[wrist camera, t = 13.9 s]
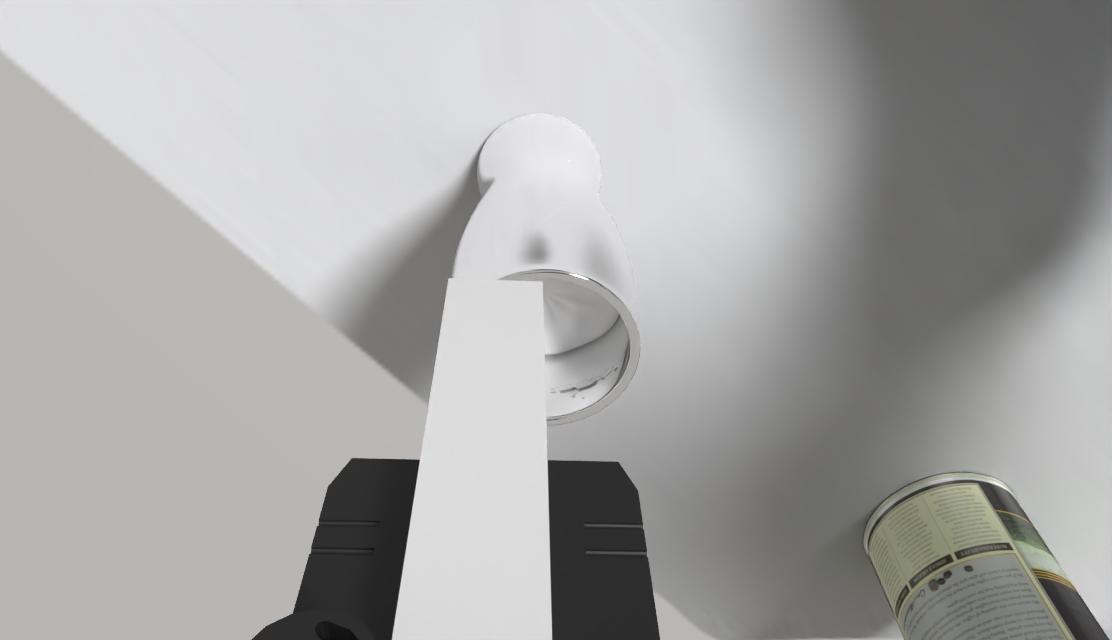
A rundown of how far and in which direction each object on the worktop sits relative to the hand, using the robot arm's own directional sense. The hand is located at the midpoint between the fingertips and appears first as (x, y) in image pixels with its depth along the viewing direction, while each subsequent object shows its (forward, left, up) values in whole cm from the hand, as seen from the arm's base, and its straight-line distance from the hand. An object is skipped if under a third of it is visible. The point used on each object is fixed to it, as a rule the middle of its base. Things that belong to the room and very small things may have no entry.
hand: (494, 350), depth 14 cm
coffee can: (-9, +43, -27) cm, 51 cm away
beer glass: (+3, +8, -27) cm, 28 cm away
